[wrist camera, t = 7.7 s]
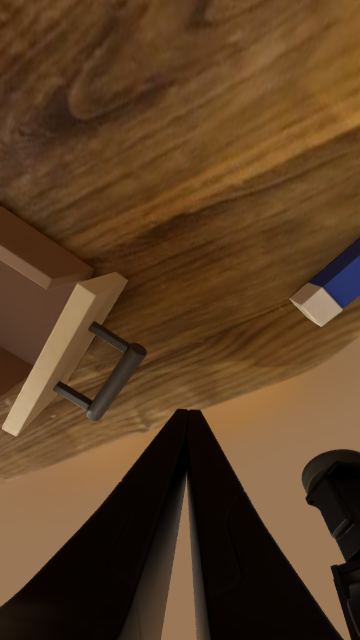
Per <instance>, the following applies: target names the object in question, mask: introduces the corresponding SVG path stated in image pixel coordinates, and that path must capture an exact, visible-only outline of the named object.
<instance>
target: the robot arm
mask: <svg viewBox="0 0 360 640" xmlns="http://www.w3.org/2000/svg"><path fill="white" fill-rule="evenodd" d="M186 476H187V490H188V505H189V522H190V538H191V554H192V569H193V585H194V602H195V618H196V634H197V640H344V639H343V638H342V637H341V636H340V634H339V633H338V632H337V631H336V629H335V628H334V626H333V625H332V623H331V622H330V621H329V619H328V618H327V617H326V615H325V613H324V612H323V611H322V609H321V608H320V606H319V605H318V603H317V602H316V600H315V599H314V597H313V596H312V595H311V593H310V592H309V590H308V589H307V587H306V586H305V584H304V583H303V581H302V580H301V579H300V577H299V576H298V574H297V573H296V571H295V570H294V568H293V567H292V565H291V564H290V562H289V561H288V560H287V558H286V557H285V555H284V554H283V552H282V551H281V550H280V548H279V546H278V545H277V543H276V542H275V540H274V539H273V537H272V536H271V534H270V533H269V531H268V530H267V528H266V527H265V525H264V523H263V522H262V520H261V518H260V517H259V515H258V513H257V512H256V510H255V508H254V506H253V505H252V503H251V501H250V499H249V497H248V496H247V494H246V492H245V491H244V489H243V487H242V485H241V483H240V481H239V479H238V478H237V476H236V474H235V472H234V470H233V469H232V467H231V465H230V463H229V461H228V460H227V458H226V456H225V454H224V452H223V450H222V449H221V447H220V445H219V443H218V441H217V439H216V438H215V436H214V434H213V432H212V430H211V429H210V427H209V425H208V423H207V421H206V419H205V418H204V416H203V414H202V412H201V411H200V410H192V409H191V410H189V411H188V409H177V410H176V411H175V413H174V414H173V415H172V417H171V418H170V419H169V420H168V422H167V423H166V424H165V425H164V427H163V428H162V429H161V430H160V432H159V433H158V434H157V436H156V437H155V438H154V439H153V441H152V442H151V443H150V444H149V446H148V447H147V448H146V449H145V451H144V452H143V453H142V455H141V456H140V457H139V459H138V460H137V461H136V462H135V463H134V465H133V466H132V467H131V468H130V470H129V471H128V472H127V474H126V475H125V476H124V477H123V479H122V482H119V483H118V485H117V486H116V487H115V489H114V490H113V491H112V493H111V494H110V495H109V496H108V497H107V499H106V500H105V501H104V502H103V503H102V504H101V506H100V507H99V508H98V509H97V510H96V511H95V512H94V514H93V515H92V516H91V517H90V518H89V519H88V520H87V521H86V522H85V523H84V524H83V526H82V527H81V528H80V529H79V530H78V531H77V532H76V533H75V534H74V535H73V536H72V537H71V538H70V539H69V540H68V541H67V542H66V544H65V545H64V546H63V547H62V548H61V549H60V550H59V551H58V552H57V553H56V554H55V555H54V556H53V557H52V558H51V559H50V560H49V561H48V562H47V563H46V565H44V567H42V569H41V570H40V571H39V572H38V573H37V574H36V575H35V576H34V577H33V578H32V579H31V580H30V581H29V582H28V583H27V584H26V585H25V586H24V587H23V588H22V589H21V590H20V591H19V592H18V593H16V594H15V595H14V596H13V597H12V598H11V599H10V600H8V602H6V603H5V604H3V605H2V606H1V607H0V640H161V634H162V627H163V622H164V616H165V609H166V603H167V597H168V591H169V584H170V578H171V572H172V566H173V560H174V554H175V547H176V541H177V535H178V529H179V522H180V516H181V510H182V503H183V498H184V491H185V484H186ZM305 499H306V502H307V504H309V505H311V506H314V507H317V508H319V509H320V511H321V514H322V516H323V518H324V520H325V522H326V525H327V527H328V529H329V531H330V533H331V536H332V537H333V538H335V539H336V542H337V544H338V546H339V548H340V550H341V552H342V555H343V557H344V559H345V561H346V563H344V564H341V565H333V566H331V570H332V573H333V577H334V583H335V587H336V590H337V593H338V597H339V600H340V604H341V607H342V610H343V613H344V617H345V620H346V624H347V627H348V630H349V633H350V637H351V640H360V468H358V467H356V466H353V465H350V464H347V463H345V462H342V461H335V462H333V464H332V465H331V466H330V467H329V469H328V470H327V471H326V472H325V474H324V475H323V476H322V477H321V479H320V480H319V481H318V482H317V484H316V485H315V486H314V487H313V489H312V490H311V491H310V492H309V494H308V495H307V496H306V498H305Z"/></svg>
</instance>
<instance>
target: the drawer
mask: <svg viewBox="0 0 360 640" xmlns="http://www.w3.org/2000/svg"><path fill="white" fill-rule="evenodd" d="M94 270H95V269H93V268H92V267H90V266H89V265H87V264H86V263H84V262H83V261H81V260H80V259H79V258H77V257H76V256H74V255H73V254H71V253H70V252H68V251H67V250H65V249H64V248H62V247H61V246H59V245H58V244H56V243H55V242H53V241H52V240H50V239H49V238H48V237H46V236H45V235H43V234H42V233H40V232H39V231H37V230H36V229H34V228H33V227H31V226H30V225H28V224H27V223H25V222H24V221H22V220H21V219H19V218H18V217H17V216H15V215H14V214H12V213H11V212H9V211H8V210H6V209H5V208H3V207H2V206H0V402H1V401H2V400H3V399H4V398H6V397H7V396H8V395H10V394H11V393H12V392H14V391H15V390H16V389H17V388H19V387H20V386H21V385H23V384H24V383H25V384H24V386H23V388H22V390H21V392H20V394H19V396H18V398H17V400H16V401H15V403H14V405H13V407H12V409H11V411H10V413H9V415H8V417H7V419H6V421H5V422H4V424H3V426H2V429H4V430H5V431H7V432H9V433H11V434H12V435H14V436H18V435H19V434H20V433H21V432H22V431H23V430H24V429H25V428H26V427H27V426H28V425H29V423H30V422H31V421H32V420H33V419H34V418H35V417H36V416H37V415H38V414H39V413H40V412H41V411H42V410H43V409H44V408H45V407H46V406H47V405H48V404H49V403H50V402H51V401H52V400H53V399H54V398H55V397H56V396H57V395H58V394H60V395H62V396H63V397H65V398H67V399H68V400H70V401H72V402H73V403H75V404H77V405H78V406H80V407H82V408H83V409H85V410H86V415H87V417H88V418H89V419H90V420H93V421H97V420H100V419H101V417H102V416H103V415H104V413H105V412H106V410H107V409H108V408H109V406H110V405H111V403H112V402H113V401H114V399H115V398H116V396H117V395H118V394H119V392H120V391H121V389H122V388H123V387H124V385H125V384H126V383H127V381H128V380H129V378H130V377H131V376H132V374H133V373H134V371H135V370H136V369H137V367H138V366H139V364H140V363H141V362H142V360H143V359H144V357H145V356H146V354H147V351H146V349H145V348H144V347H143V346H141V345H140V344H137V343H132V344H131V345H130V344H129V343H128V342H126V341H125V340H123V339H122V338H120V337H119V336H117V335H116V334H114V333H112V332H111V331H109V330H108V329H106V328H105V327H103V326H102V324H103V322H104V320H105V319H106V317H107V315H108V314H109V312H110V310H111V309H112V307H113V305H114V304H115V302H116V300H117V299H118V297H119V295H120V294H121V292H122V290H123V289H124V287H125V285H126V284H127V282H128V280H127V279H126V278H124V277H123V276H121V275H120V274H118V273H117V272H113V273H110V274H106V275H103V276H100V277H96V278H93V279H90V278H91V276H92V274H93V272H94ZM95 335H96V336H98V337H99V338H101V339H102V340H104V341H106V342H107V343H109V344H110V345H112V346H113V347H115V348H116V349H118V350H120V351H121V352H123V353H125V354H124V355H123V357H122V358H121V360H120V361H119V363H118V364H117V366H116V367H115V368H114V370H113V371H112V373H111V374H110V376H109V377H108V379H107V380H106V382H105V383H104V385H103V386H102V388H101V389H100V391H99V392H98V394H97V395H96V397H95V398H94V400H93V401H92V400H91V399H89V398H87V397H86V396H84V395H82V394H81V393H79V392H77V391H76V390H74V389H72V388H71V387H69V386H68V385H66V383H67V382H68V380H69V378H70V377H71V375H72V373H73V372H74V370H75V368H76V367H77V365H78V363H79V362H80V360H81V358H82V357H83V355H84V354H85V352H86V350H87V349H88V347H89V345H90V344H91V342H92V340H93V339H94V337H95ZM87 408H88V409H87Z"/></svg>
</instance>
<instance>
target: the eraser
mask: <svg viewBox="0 0 360 640" xmlns="http://www.w3.org/2000/svg"><path fill="white" fill-rule="evenodd" d="M359 295H360V238H359V239H358V240H357V241H356V242H355V243H353V244H352V245H351V246H350V247H349V248H348V249H346V250H345V251H344V252H343V253H342V254H341V255H340V256H338V257H337V258H336V259H335V260H334V261H333V262H331V263H330V264H329V265H328V266H327V267H326V268H325V269H323V270H322V271H321V272H320V273H319V274H318V275H316V276H315V277H314V278H313V279H312V280H311V281H310V282H308V283H307V284H305V285H304V286H303V287H302V288H301V289H300V290H298V291H297V292H296V293H295V294H294V295H293V296H292V297H290V298H289V299H290V300H291V301H292V302H293V304H294V305H295V306H296V307H297V308H298V309H299V310H300V311H301V312H302V313H303V314H304V315H305V316H306V317H307V318H308V319H310V320H311V321H313V322H314V323H316V324H317V325H319V326H321V327H322V326H324V325H325V324H326V323H327V322H329V321H330V320H331V319H332V318H334V317H335V316H336V315H337V314H339V313H340V312H341V311H342V310H343V308H344V307H345V306H347V305H348V304H349V303H351V302H352V301H353V300H354V299H356V298H357V297H358V296H359Z"/></svg>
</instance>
